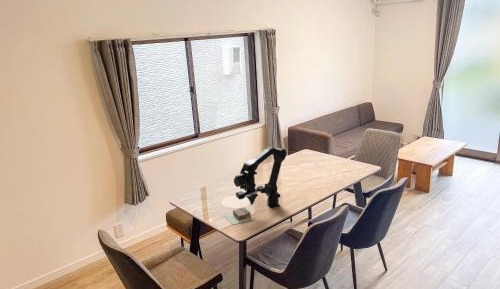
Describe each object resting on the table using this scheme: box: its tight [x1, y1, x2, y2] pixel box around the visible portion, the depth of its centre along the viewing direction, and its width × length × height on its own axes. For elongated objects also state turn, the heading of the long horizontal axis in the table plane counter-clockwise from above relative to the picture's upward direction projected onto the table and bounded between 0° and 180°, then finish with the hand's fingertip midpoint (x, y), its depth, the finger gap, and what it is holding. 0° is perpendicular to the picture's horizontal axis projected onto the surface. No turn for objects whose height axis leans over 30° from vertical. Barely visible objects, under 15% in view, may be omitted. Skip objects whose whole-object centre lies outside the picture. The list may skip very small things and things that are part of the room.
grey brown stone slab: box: [232, 207, 252, 220], centre depth 228 cm, size 3×9×8 cm
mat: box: [224, 212, 252, 226], centre depth 227 cm, size 12×14×1 cm
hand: (251, 204), depth 230 cm, fingers closed
